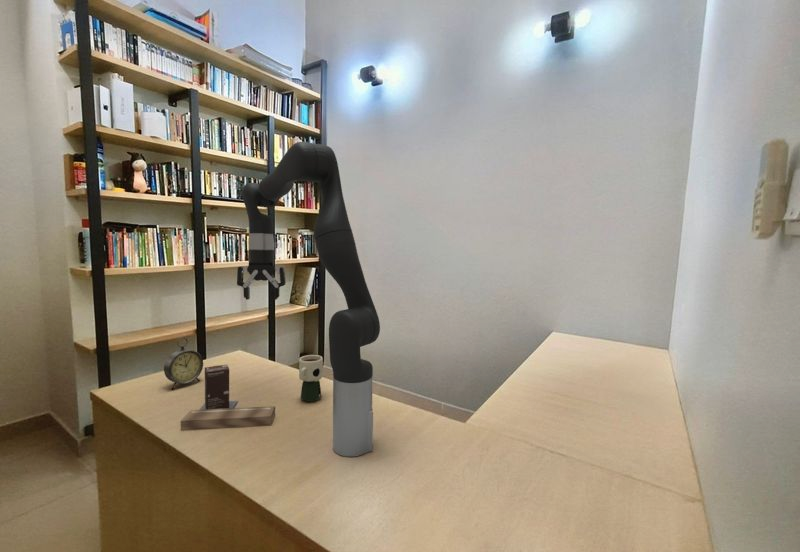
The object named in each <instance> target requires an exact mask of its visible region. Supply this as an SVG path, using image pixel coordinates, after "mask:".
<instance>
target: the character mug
mask: <svg viewBox="0 0 800 552" xmlns="http://www.w3.org/2000/svg"><path fill="white" fill-rule="evenodd" d="M298 360H299V361H298V362H299V363H298V367H299V369H298V371H299V372H298V374H299V375H298V377H299V380H300V381H302V383H301V390H300V399H302V401H307V402H315V401H318V400H320V398H322V389H321V388H322V387H321V382H320V380H322V378H323V377H324V376H323V375H324V371H323V367H324V363H323V362H324V359H323V356H321V355H319V354H307V355H303V356H300V357H299V358H298Z"/></svg>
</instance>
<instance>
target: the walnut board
mask: <svg viewBox="0 0 800 552" xmlns="http://www.w3.org/2000/svg"><path fill="white" fill-rule="evenodd" d="M275 417H276V405H271V406H267V405H266V406H249V407H247V406H246V407H234V408H225V409H204V410H199V409H190V410H189V411H188V412H187V413H186V414H185V415H184V417H183V418H181V420H180V431H191V430H194V431H195V430H208V429H209V430H211V429H212V430H213V429H230V428H231V429H232V428H247V427H263V426H267V427H268V426H272V423H273V421H274V419H275Z"/></svg>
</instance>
